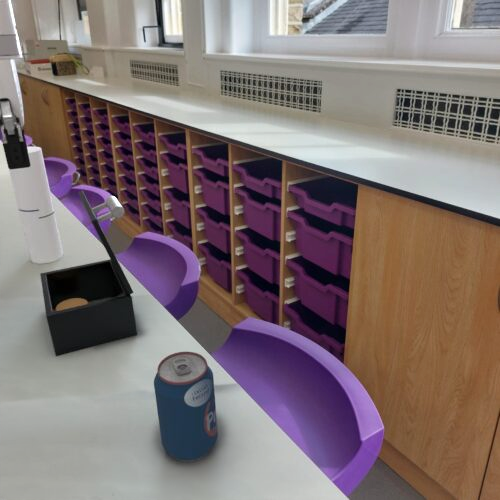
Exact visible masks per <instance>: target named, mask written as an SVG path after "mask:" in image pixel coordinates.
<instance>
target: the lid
mask: <svg viewBox="0 0 500 500" xmlns="http://www.w3.org/2000/svg"><path fill="white" fill-rule="evenodd" d="M77 193H78V195H79V198H80V200H81V203H82V204H83V206H84V209H85V211H86V213H87V215H88V218H89V219H90V221H91V224H92V226H93V228H94V229H95V232H96V233H97V236H98V238H99V239H100V241H101V243H102V245H103V247H104V249H105V251H106V253H107V255H108V257H109V260H110V259H111V261H112V263H113V265H114V267H115V269H116V271H117V272H118V274H119V276H120V278H121V280H122V282H123V284H124V286H125V288H126V290H127V292H128V294H129V295H130V294H131V295H132V294H134V290H133V288H132V286H131V284H130V283H129V280H128V278H127V276H126V274H125V272H124V270H123V268H122V265H121V264H120V262H119V260H118V258H117V256H116V254H115V252H114V251H113V248H112V246H111V244H110V242H109V241H108V238H107V236H106V235H105V232H104V230H103V228H102V226H101V224H100V223H101V222H104V221H106V220H108V219H110V218H113V217H114V218H115V219H121V218H123V216H124V215H125V208H124V207H123V205H122V204H121V203H120V201H119V200H118V198H117V197H116V196H114V195H109V196H106V199H105V201H104V202H103V203H101V204H98V205H96V206H94V207H91V205H90V203H89V201H88V199H87V197H86V195H85V193H84V191H83V190H80V191H78V192H77ZM104 209H108V211H109V212H107V213H104V214H102V215H99V216H97V217H96V214H95V213H97V212H100V211H102V210H104Z"/></svg>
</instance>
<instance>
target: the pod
mask: <svg viewBox="0 0 500 500" xmlns="http://www.w3.org/2000/svg"><path fill="white" fill-rule="evenodd" d="M85 304H89V302H87V300H85V299H82V298H72V299H68V300H65V301H63V302H61V303H59V304H58V305H57V306H56V310H55V311H59V310H64V309H68V308H72V307H77V306H81V305H85Z"/></svg>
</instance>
